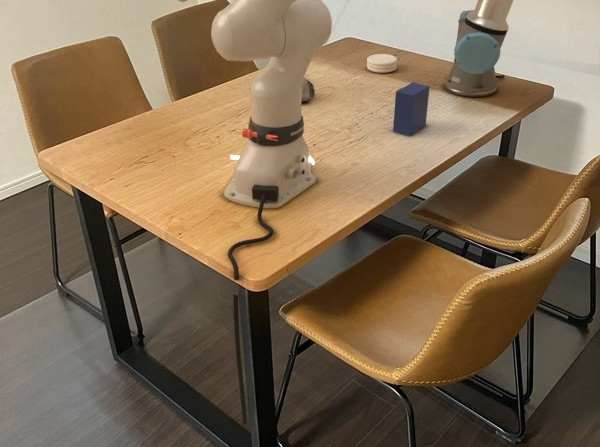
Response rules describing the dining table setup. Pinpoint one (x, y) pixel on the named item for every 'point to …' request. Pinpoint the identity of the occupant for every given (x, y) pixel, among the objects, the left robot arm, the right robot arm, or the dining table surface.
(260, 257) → the dining table surface
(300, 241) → the dining table surface
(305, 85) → the rock
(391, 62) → the coaster
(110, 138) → the dining table surface
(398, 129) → the brick
